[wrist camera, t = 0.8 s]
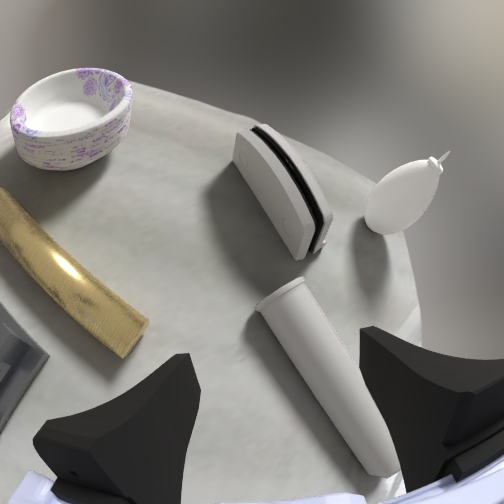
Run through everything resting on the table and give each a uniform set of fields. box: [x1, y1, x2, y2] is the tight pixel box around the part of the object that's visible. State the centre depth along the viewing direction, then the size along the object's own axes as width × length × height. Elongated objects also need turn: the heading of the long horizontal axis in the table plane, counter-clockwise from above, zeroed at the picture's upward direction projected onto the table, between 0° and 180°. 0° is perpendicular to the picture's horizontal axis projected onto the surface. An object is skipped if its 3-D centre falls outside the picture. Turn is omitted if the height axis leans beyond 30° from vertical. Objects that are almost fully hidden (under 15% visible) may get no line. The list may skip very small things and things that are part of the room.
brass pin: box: [0, 188, 149, 359], centre depth 21 cm, size 21×4×4 cm, turn 63°
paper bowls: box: [10, 68, 133, 171], centre depth 26 cm, size 15×15×8 cm
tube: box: [254, 277, 401, 478], centre depth 25 cm, size 5×5×25 cm
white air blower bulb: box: [364, 151, 450, 235], centre depth 36 cm, size 8×8×18 cm
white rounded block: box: [232, 124, 333, 261], centre depth 33 cm, size 17×5×10 cm, turn 31°
